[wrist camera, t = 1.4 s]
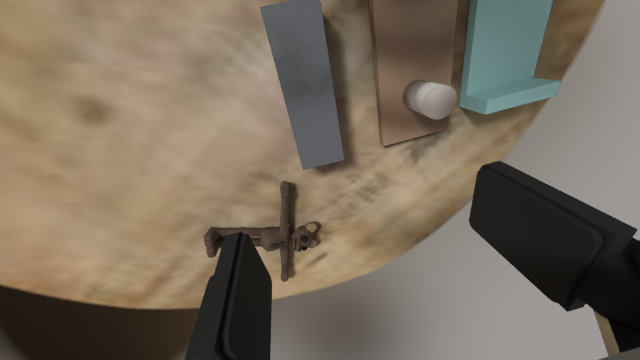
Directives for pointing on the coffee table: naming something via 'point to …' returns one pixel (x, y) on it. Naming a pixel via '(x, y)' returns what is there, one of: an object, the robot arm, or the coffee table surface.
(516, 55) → the slot holder
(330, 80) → the steel bar
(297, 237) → the bear figurine
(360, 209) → the coffee table surface
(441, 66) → the peg stand
